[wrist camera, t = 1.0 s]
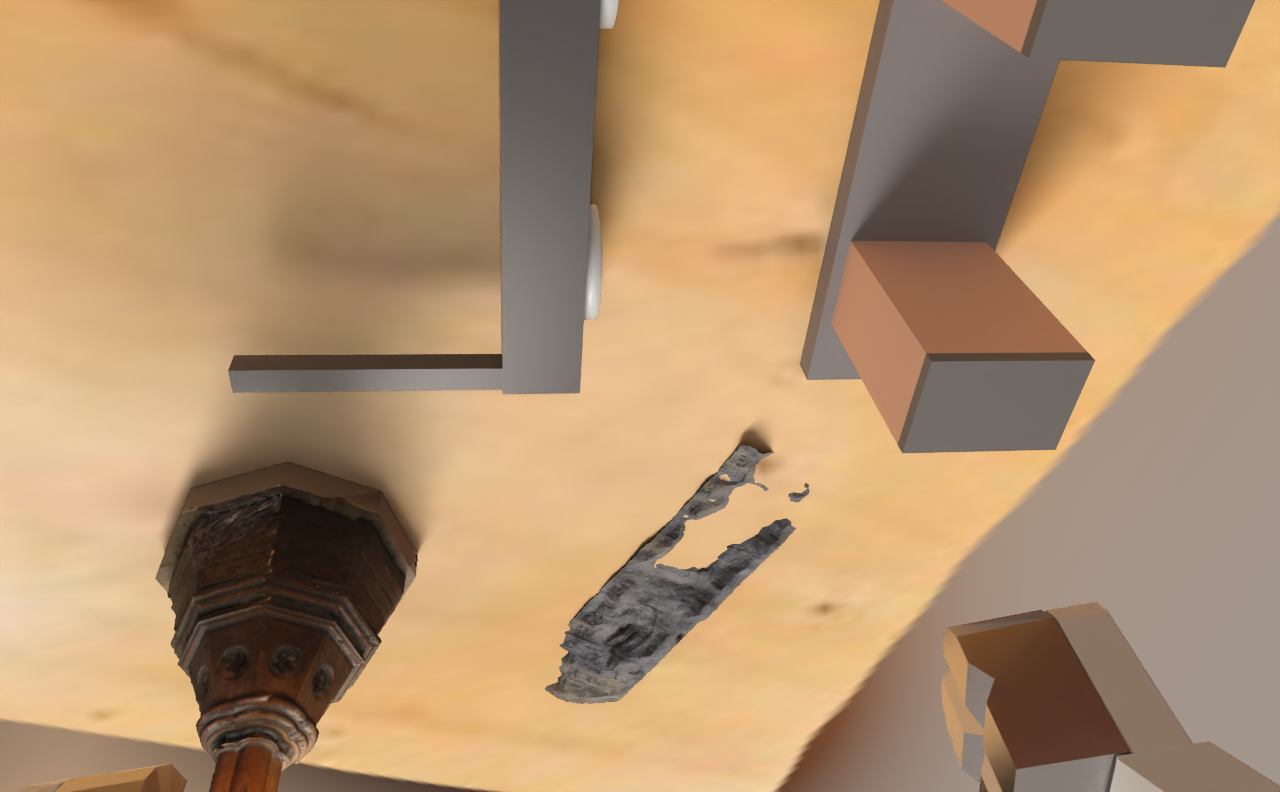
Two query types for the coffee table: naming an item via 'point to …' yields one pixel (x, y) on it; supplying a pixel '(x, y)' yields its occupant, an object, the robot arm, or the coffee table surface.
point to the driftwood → (660, 596)
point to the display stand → (968, 211)
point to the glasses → (510, 227)
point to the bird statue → (278, 609)
